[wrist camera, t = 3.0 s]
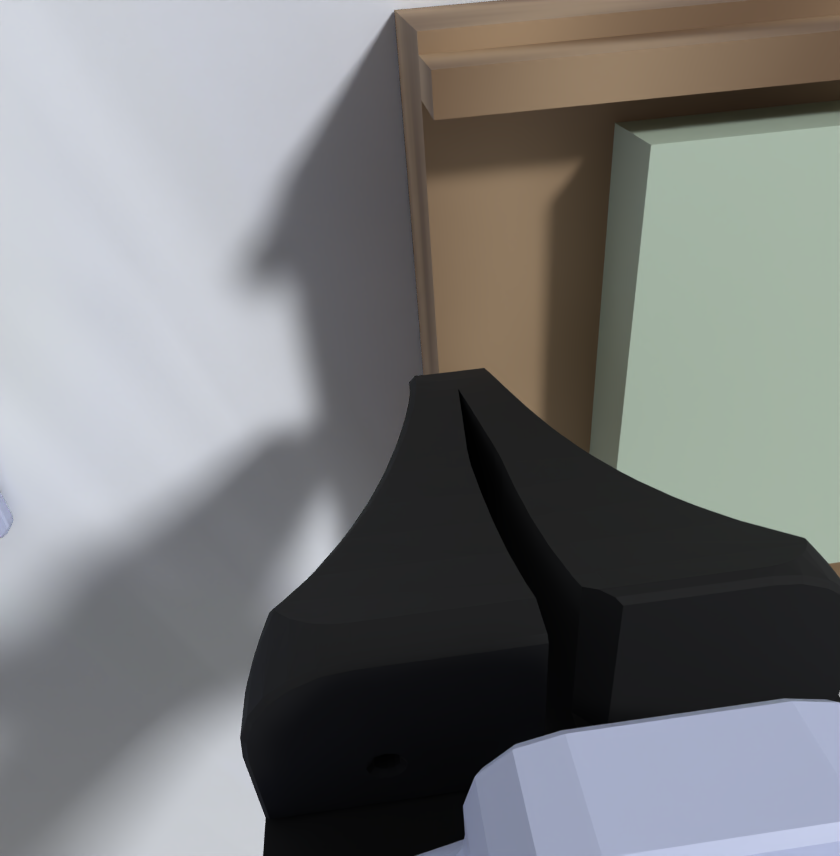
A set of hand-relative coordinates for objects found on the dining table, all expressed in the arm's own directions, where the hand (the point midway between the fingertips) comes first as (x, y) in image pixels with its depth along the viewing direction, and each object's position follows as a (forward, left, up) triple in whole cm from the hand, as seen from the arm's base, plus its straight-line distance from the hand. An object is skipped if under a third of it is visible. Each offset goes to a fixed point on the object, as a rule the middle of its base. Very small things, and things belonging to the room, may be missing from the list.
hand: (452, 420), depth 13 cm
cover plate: (+6, 0, -1) cm, 6 cm away
